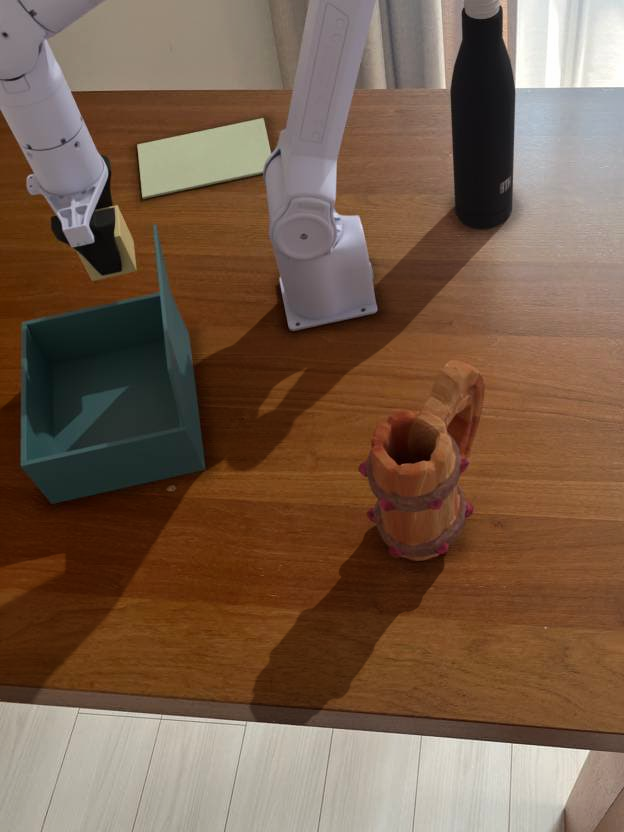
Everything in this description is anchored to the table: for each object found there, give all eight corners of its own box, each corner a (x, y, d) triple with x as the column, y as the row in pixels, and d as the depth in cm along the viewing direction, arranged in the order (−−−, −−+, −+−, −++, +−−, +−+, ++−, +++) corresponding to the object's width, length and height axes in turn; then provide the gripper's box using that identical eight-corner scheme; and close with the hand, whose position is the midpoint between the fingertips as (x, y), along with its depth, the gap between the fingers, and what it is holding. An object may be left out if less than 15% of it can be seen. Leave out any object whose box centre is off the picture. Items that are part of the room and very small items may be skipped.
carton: (189, 334, 94) (170, 289, 88) (205, 470, 85) (185, 429, 79) (49, 365, 93) (21, 322, 88) (51, 504, 84) (20, 466, 79)
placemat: (263, 120, 110) (263, 117, 110) (274, 171, 106) (274, 168, 105) (137, 146, 110) (137, 144, 110) (143, 199, 105) (142, 197, 105)
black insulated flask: (458, 189, 101) (447, -104, 75) (514, 191, 100) (523, -105, 74) (451, 228, 98) (438, -63, 72) (509, 230, 97) (517, -64, 71)
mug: (433, 592, 77) (423, 501, 64) (356, 551, 79) (330, 456, 66) (515, 469, 82) (520, 361, 69) (439, 434, 85) (431, 325, 72)
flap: (166, 285, 88) (169, 285, 88) (181, 425, 79) (185, 424, 79) (152, 224, 81) (156, 224, 81) (167, 369, 73) (171, 368, 73)
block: (133, 240, 88) (117, 204, 84) (136, 271, 86) (120, 235, 82) (90, 250, 88) (71, 214, 84) (92, 281, 85) (73, 246, 82)
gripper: (2, 87, 77) (67, 212, 89) (1, 195, 70) (71, 315, 82) (82, 70, 78) (135, 197, 89) (89, 175, 70) (146, 299, 82)
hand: (110, 253), depth 86 cm, fingers closed on block, 4 cm apart
